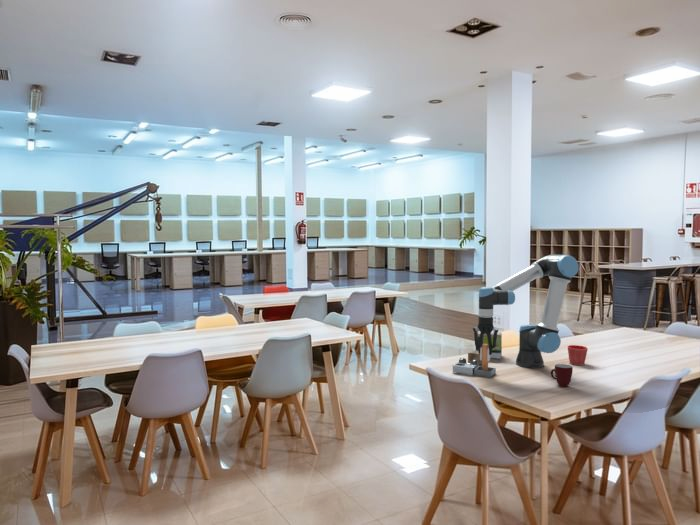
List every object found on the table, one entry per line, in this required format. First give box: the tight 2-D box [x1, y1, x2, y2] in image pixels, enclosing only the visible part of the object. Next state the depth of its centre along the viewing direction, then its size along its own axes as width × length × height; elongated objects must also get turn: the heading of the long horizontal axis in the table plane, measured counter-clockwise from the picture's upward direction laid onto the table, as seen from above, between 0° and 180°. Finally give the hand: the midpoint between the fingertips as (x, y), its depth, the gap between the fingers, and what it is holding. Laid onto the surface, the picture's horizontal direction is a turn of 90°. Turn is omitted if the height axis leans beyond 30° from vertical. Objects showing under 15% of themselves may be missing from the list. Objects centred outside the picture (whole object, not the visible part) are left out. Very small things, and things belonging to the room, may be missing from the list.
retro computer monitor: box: [475, 330, 503, 359], centre depth 317 cm, size 15×10×15 cm
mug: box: [550, 363, 573, 388], centre depth 256 cm, size 11×8×10 cm
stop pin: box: [481, 344, 489, 371], centre depth 276 cm, size 3×3×14 cm
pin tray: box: [473, 365, 497, 378], centre depth 276 cm, size 9×9×3 cm
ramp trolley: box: [452, 357, 480, 376], centre depth 283 cm, size 11×13×6 cm
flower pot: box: [567, 344, 588, 366], centre depth 300 cm, size 11×11×10 cm
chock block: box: [467, 349, 482, 366], centre depth 299 cm, size 6×8×7 cm
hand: (485, 360), depth 276 cm, fingers closed on stop pin, 3 cm apart
